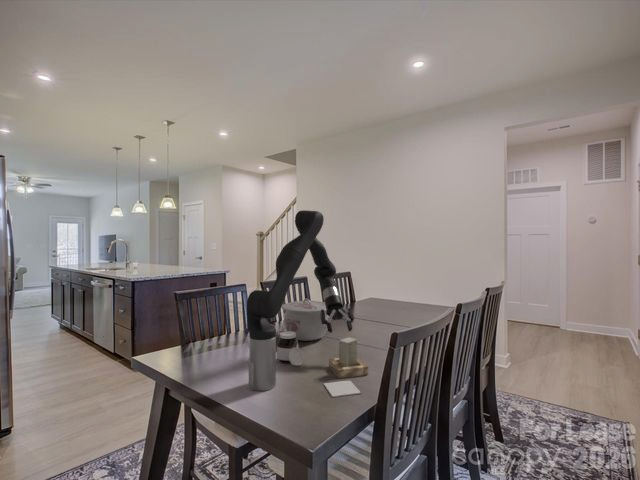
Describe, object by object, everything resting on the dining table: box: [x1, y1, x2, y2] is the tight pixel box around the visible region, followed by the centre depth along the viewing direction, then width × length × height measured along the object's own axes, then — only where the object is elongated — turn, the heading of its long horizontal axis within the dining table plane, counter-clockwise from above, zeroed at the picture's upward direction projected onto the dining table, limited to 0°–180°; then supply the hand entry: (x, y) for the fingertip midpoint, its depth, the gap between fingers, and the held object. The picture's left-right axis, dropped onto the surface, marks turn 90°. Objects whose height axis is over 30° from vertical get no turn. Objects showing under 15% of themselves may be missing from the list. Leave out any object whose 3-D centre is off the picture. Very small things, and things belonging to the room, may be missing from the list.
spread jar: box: [276, 330, 304, 367], centre depth 139 cm, size 12×11×12 cm
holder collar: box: [328, 356, 369, 379], centre depth 130 cm, size 12×12×3 cm
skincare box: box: [338, 336, 358, 367], centre depth 130 cm, size 6×4×12 cm
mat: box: [323, 380, 362, 398], centre depth 114 cm, size 10×10×1 cm
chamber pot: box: [281, 298, 329, 342], centre depth 175 cm, size 28×28×21 cm
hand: (340, 331), depth 139 cm, fingers open, 8 cm apart
